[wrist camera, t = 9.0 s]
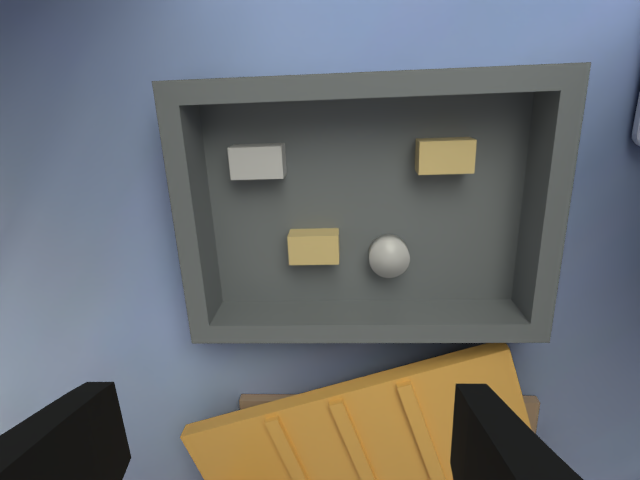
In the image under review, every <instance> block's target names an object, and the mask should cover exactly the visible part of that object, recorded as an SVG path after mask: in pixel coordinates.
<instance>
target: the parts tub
mask: <svg viewBox="0 0 640 480" xmlns="http://www.w3.org/2000/svg"><path fill="white" fill-rule="evenodd" d="M590 67H591V62H586V63H563V64H540V65H517V66H493V67H470V68H447V69H424V70H401V71H377V72H354V73H331V74H308V75H284V76H261V77H238V78H215V79H191V80H168V81H152V86H153V92H154V99H155V105H156V112H157V118H158V125H159V131H160V138H161V144H162V151H163V158H164V164H165V171H166V177H167V184H168V190H169V197H170V203H171V210H172V216H173V223H174V229H175V236H176V242H177V249H178V256H179V262H180V269H181V275H182V282H183V288H184V295H185V301H186V308H187V314H188V321H189V327H190V334H191V340H192V343H550V337H551V330H552V323H553V316H554V310H555V303H556V296H557V289H558V283H559V276H560V269H561V262H562V256H563V249H564V242H565V235H566V229H567V222H568V215H569V208H570V202H571V195H572V188H573V181H574V175H575V168H576V161H577V154H578V148H579V141H580V134H581V127H582V121H583V114H584V107H585V100H586V94H587V87H588V80H589V73H590Z"/></svg>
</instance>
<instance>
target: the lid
mask: <svg viewBox="0 0 640 480" xmlns="http://www.w3.org/2000/svg"><path fill="white" fill-rule="evenodd" d="M456 384H487V385H488V386H489V387H490V388H491V389H492V390H493V391H494V392H495V393H496V394H497V395H498V396H499V397H500V398H501V399H502V400H503V401H504V402H505V403H506V404H507V405H508V406H509V407H510V408H511V409H512V410H513V411H514V412H515V413H516V415H517V416H518V417H519V418H520V419H521V420H522V421H523V422H524V423H525V424H526V425H527V426H528V427H529V428H530V429H531V425H530V422H529V418H528V414H527V411H526V407H525V403H524V400H523V396H522V392H521V389H520V385H519V381H518V378H517V374H516V370H515V367H514V363H513V359H512V356H511V352H510V349H509V347H508V345H507V344H506V343H485V344H482V345H478V346H474V347H471V348H467V349H463V350H459V351H456V352H452V353H448V354H445V355H441V356H437V357H434V358H430V359H426V360H423V361H419V362H415V363H412V364H408V365H404V366H400V367H397V368H393V369H389V370H386V371H382V372H378V373H375V374H371V375H367V376H364V377H360V378H356V379H353V380H349V381H345V382H341V383H338V384H334V385H330V386H327V387H323V388H319V389H316V390H312V391H308V392H305V393H301V394H297V395H294V396H290V397H286V398H282V399H279V400H275V401H271V402H268V403H264V404H260V405H257V406H253V407H249V408H246V409H242V410H238V411H235V412H231V413H227V414H223V415H220V416H216V417H212V418H209V419H205V420H201V421H198V422H194V423H190V424H187V425H186V426H185V428H184V430H183V432H182V434H181V436H180V438H181V440H182V442H183V443H184V445H185V447H186V449H187V450H188V452H189V454H190V456H191V457H192V459H193V461H194V463H195V464H196V466H197V468H198V470H199V471H200V473H201V475H202V477H203V478H204V480H453V475H452V470H451V465H450V456H451V442H452V428H453V414H454V400H455V386H456ZM531 430H532V429H531Z"/></svg>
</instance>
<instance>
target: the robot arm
mask: <svg viewBox="0 0 640 480" xmlns="http://www.w3.org/2000/svg"><path fill="white" fill-rule="evenodd" d="M632 139H633V141H634V143H635V144H637V145H638V146H640V93H639V98H638V104H637V109H636V114H635V120H634V125H633V131H632ZM130 459H131V454H130V450H129V446H128V441H127V437H126V432H125V428H124V423H123V419H122V415H121V410H120V406H119V401H118V397H117V392H116V388H115V384H114V382H86V383H84V384H82V385H81V386H79V387H77V388H75V389H73V390H72V391H70V392H68V393H67V394H65V395H63V396H62V397H60V398H59V399H57V400H55V401H54V402H52V403H51V404H49V405H47V406H46V407H44V408H43V409H41V410H40V411H38V412H37V413H35V414H33V415H32V416H30V417H29V418H27V419H26V420H24V421H23V422H21V423H19V424H18V425H16V426H15V427H13V428H12V429H10V430H8V431H7V432H5V433H4V434H2V435H1V436H0V480H122V479H123V477H124V474H125V472H126V469H127V467H128V464H129V462H130ZM450 465H451V470H452V475H453V480H583V479H582V478H581V477H580V476H579V475H578V474H577V473H576V472H574V471H573V470H572V469H571V468H570V467H569V466H568V465H567V464H566V463H565V462H564V461H563V460H562V459H561V458H560V457H559V456H558V455H557V454H556V453H555V452H554V451H552V450H551V449H550V448H549V447H548V446H547V445H546V444H545V443H544V442H543V441H542V440H541V439H540V438H539V437H538V436H537V435H536V434H535V433H534V432H533V431H532V430H531V429H530V428H529V427H528V426H527V425H526V424H525V423H524V422H523V421H522V420H521V419H520V418H519V417H518V416H517V415H516V413H515V412H514V411H513V410H512V409H511V408H510V407H509V406H508V405H507V404H506V403H505V402H504V401H503V400H502V399H501V398H500V397H499V396H498V395H497V394H496V393H495V392H494V391H493V390H492V389H491V388H490V387H489V386H488V385H487V384H456V386H455V400H454V414H453V428H452V442H451V456H450Z"/></svg>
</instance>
